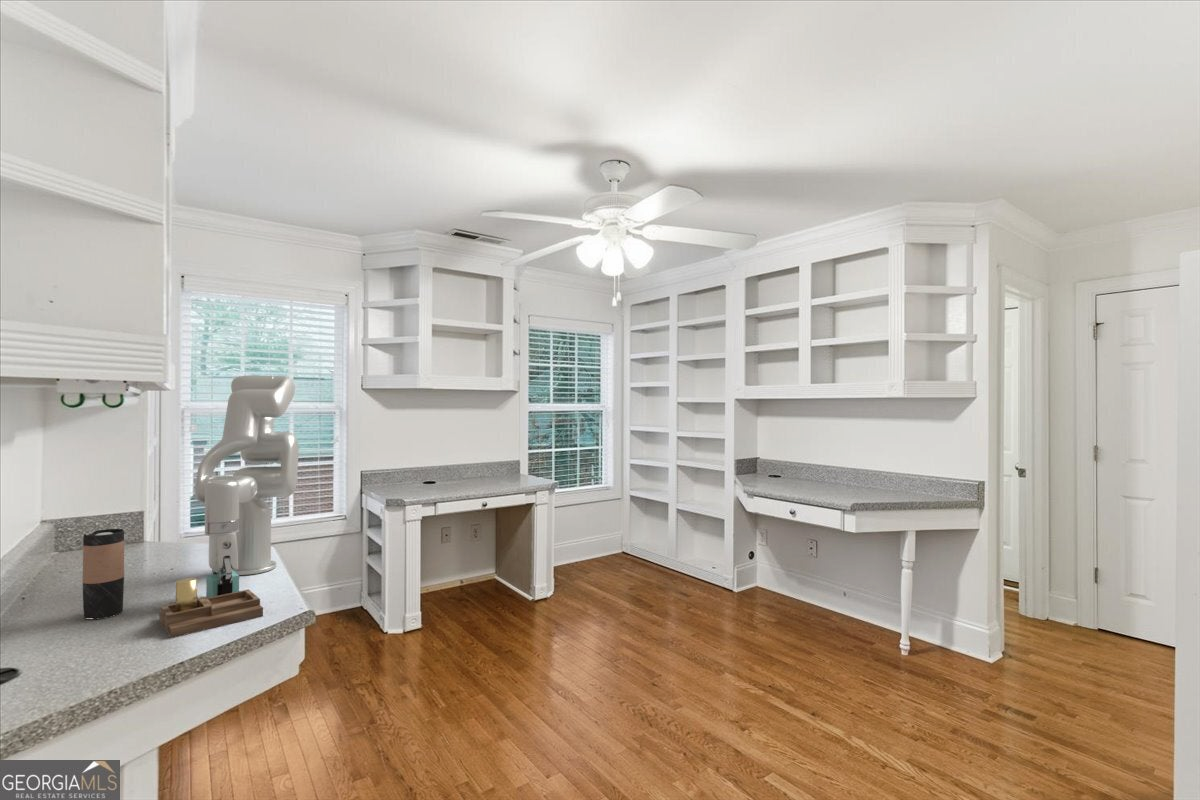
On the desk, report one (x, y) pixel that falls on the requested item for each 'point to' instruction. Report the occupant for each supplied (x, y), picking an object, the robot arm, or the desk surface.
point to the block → (213, 583)
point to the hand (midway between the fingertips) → (221, 594)
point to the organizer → (211, 613)
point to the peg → (186, 594)
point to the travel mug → (103, 573)
